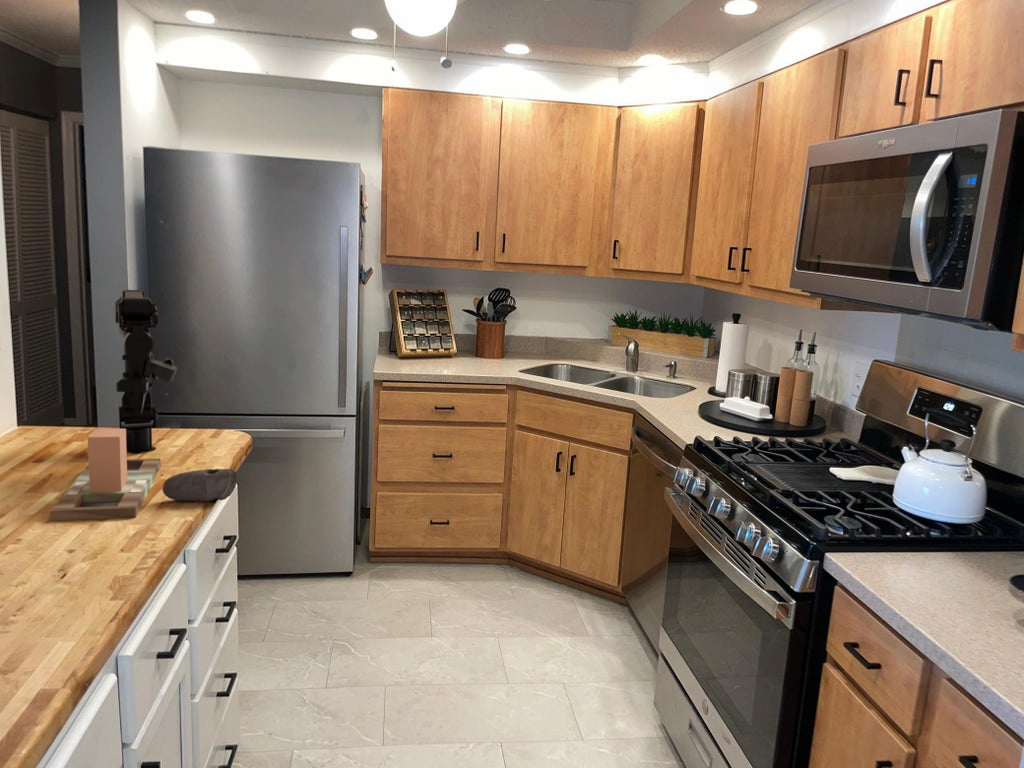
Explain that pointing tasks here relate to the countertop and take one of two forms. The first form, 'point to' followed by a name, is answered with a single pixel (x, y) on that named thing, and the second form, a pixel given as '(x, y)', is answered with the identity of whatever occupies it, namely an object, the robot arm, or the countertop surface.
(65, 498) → the trap board
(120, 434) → the terracotta block
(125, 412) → the robot arm
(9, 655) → the countertop surface
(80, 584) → the countertop surface
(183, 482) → the perforated stone tool
